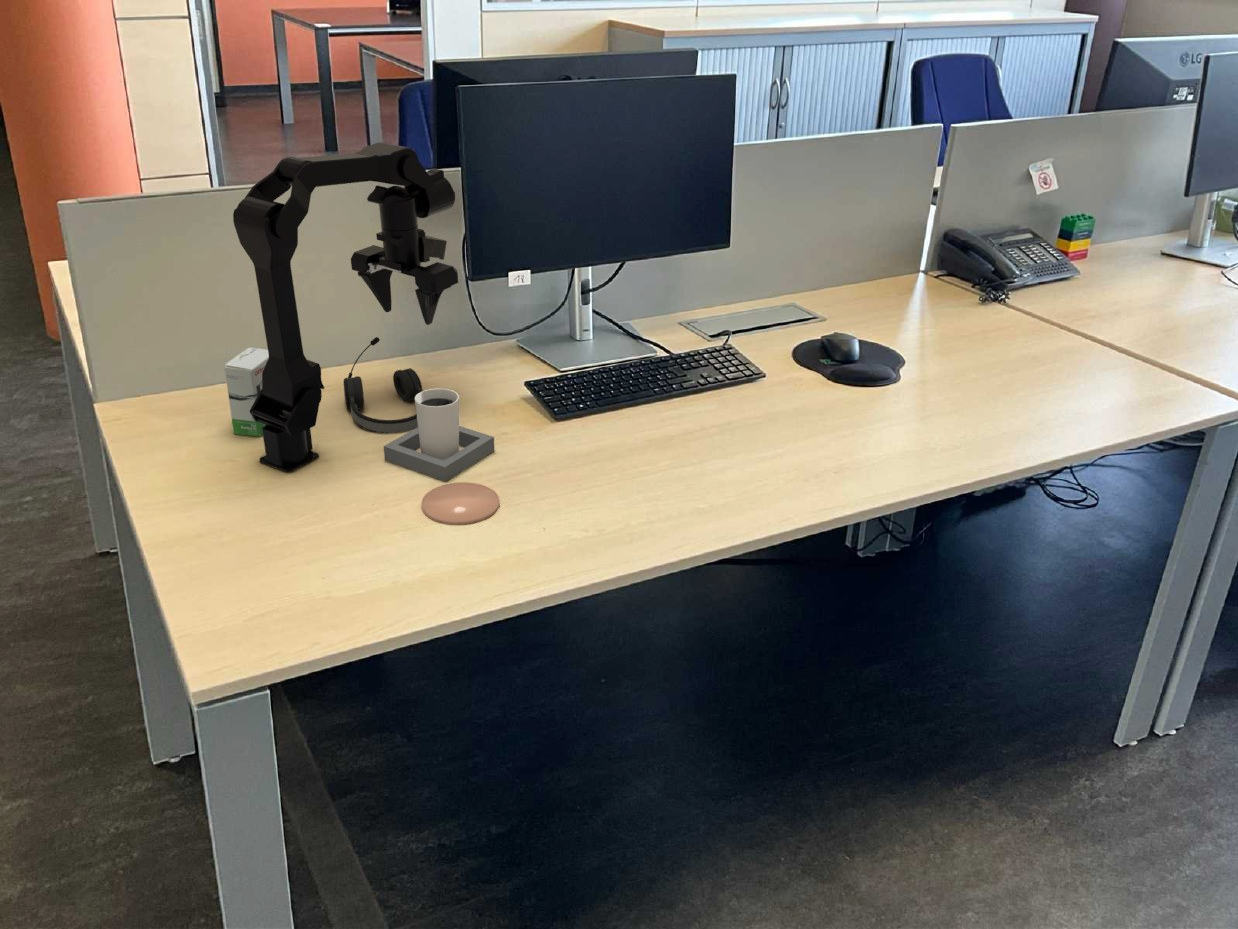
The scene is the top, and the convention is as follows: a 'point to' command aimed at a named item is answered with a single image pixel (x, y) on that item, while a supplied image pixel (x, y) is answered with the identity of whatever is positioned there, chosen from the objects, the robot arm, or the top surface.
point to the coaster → (460, 503)
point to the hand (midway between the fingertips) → (408, 317)
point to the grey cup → (438, 422)
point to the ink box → (245, 389)
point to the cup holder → (443, 470)
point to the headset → (406, 389)
